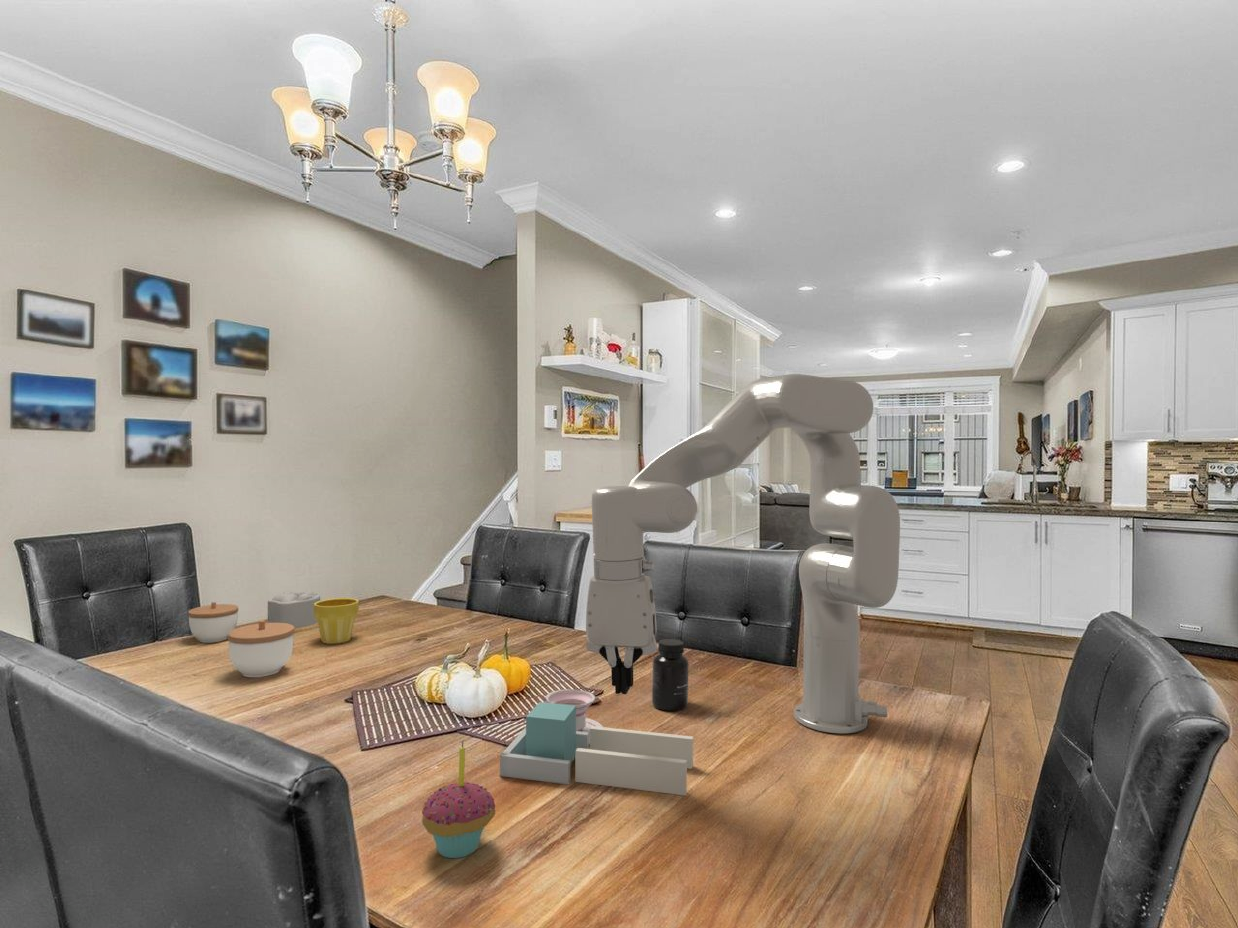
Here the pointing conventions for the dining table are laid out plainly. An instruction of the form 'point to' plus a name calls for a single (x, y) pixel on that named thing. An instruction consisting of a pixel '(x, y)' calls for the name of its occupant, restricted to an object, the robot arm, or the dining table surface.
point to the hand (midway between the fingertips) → (622, 690)
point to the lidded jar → (213, 622)
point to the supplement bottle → (670, 676)
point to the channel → (635, 760)
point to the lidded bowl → (261, 648)
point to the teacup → (582, 704)
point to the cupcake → (458, 815)
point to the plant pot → (336, 619)
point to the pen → (537, 762)
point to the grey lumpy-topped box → (293, 608)
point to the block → (551, 731)
